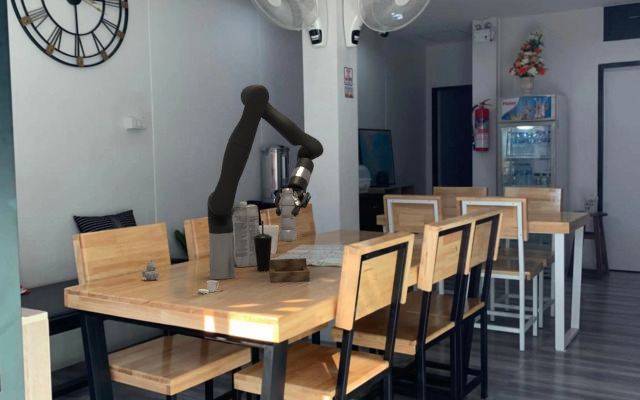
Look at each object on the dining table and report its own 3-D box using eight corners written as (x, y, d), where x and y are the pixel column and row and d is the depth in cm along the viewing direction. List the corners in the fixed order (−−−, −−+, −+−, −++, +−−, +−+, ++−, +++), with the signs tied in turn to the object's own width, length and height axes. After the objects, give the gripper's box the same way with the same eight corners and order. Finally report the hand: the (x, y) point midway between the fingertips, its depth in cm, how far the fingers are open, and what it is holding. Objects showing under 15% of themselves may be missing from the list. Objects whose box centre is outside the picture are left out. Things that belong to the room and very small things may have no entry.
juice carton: (261, 266, 268) (259, 201, 266) (236, 268, 264) (235, 203, 262) (255, 263, 276) (253, 200, 274) (231, 264, 272) (229, 201, 270)
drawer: (271, 282, 232) (270, 264, 232) (269, 276, 244) (269, 259, 244) (309, 281, 234) (309, 263, 233) (306, 275, 246) (306, 258, 246)
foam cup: (283, 252, 305) (282, 225, 305) (271, 255, 298) (271, 227, 297) (267, 251, 310) (266, 224, 310) (255, 253, 303) (254, 226, 302)
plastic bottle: (287, 240, 243) (286, 187, 242) (301, 241, 239) (299, 188, 237) (276, 242, 238) (274, 188, 237) (289, 243, 234) (288, 189, 232)
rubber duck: (155, 281, 238) (154, 260, 237) (138, 281, 239) (138, 260, 239) (161, 278, 243) (160, 258, 243) (145, 278, 244) (144, 257, 244)
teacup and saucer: (198, 296, 213) (198, 284, 213) (196, 291, 221) (196, 280, 220) (225, 294, 215) (224, 282, 215) (222, 289, 223) (221, 278, 223)
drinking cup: (270, 272, 254) (269, 222, 252) (251, 271, 255) (250, 221, 254) (275, 268, 261) (274, 220, 260) (257, 268, 263) (256, 220, 261)
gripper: (279, 174, 246) (265, 208, 236) (313, 174, 241) (300, 208, 231) (285, 187, 252) (272, 221, 242) (319, 188, 246) (306, 221, 236)
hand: (286, 214), depth 236 cm, fingers closed on plastic bottle, 6 cm apart
